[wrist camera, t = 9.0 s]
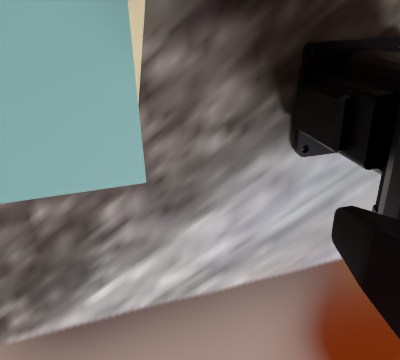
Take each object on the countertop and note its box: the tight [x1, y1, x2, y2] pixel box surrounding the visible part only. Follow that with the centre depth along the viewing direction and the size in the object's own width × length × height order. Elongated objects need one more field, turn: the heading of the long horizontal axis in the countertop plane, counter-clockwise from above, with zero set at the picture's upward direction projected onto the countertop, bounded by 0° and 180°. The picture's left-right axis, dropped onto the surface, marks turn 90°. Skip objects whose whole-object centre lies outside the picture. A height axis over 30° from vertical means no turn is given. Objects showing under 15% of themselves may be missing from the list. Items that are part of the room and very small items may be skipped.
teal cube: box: [0, 0, 146, 204], centre depth 11 cm, size 6×6×6 cm
